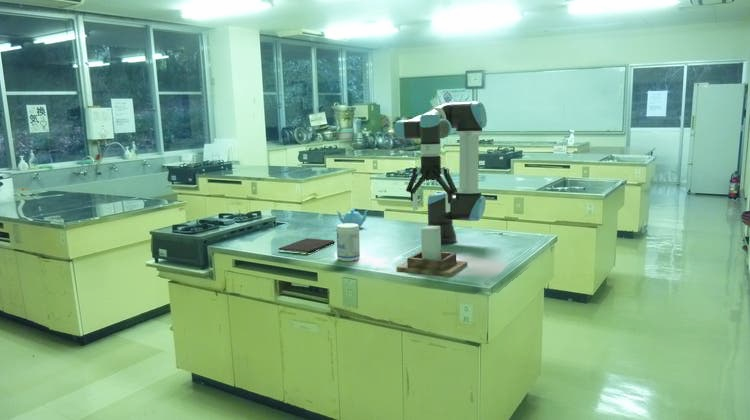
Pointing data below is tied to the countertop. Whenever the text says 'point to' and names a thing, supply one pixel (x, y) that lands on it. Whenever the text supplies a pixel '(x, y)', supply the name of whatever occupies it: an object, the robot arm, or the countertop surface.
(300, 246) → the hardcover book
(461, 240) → the countertop surface
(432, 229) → the skincare box
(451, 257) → the bottle stand
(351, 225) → the supplement tub
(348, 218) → the teapot
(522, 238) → the countertop surface
